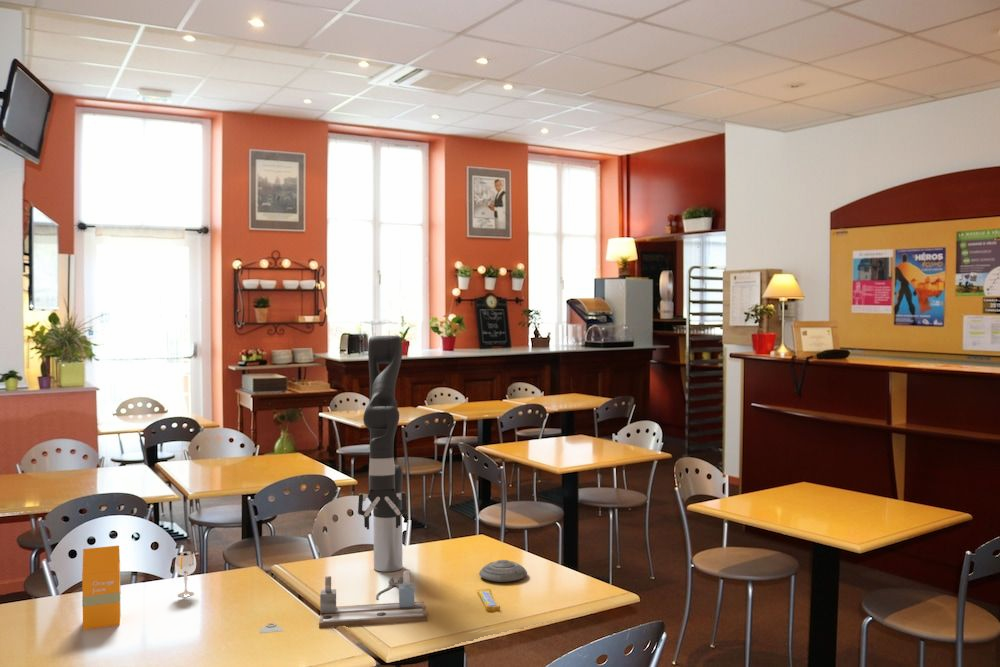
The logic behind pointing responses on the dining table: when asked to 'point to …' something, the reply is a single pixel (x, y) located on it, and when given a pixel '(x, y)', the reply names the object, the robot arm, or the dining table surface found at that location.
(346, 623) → the board
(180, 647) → the dining table surface
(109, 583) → the orange juice
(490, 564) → the flying saucer
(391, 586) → the pliers
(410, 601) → the pointer block
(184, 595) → the wineglass
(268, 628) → the mounting bracket
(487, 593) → the candy bar
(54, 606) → the dining table surface
